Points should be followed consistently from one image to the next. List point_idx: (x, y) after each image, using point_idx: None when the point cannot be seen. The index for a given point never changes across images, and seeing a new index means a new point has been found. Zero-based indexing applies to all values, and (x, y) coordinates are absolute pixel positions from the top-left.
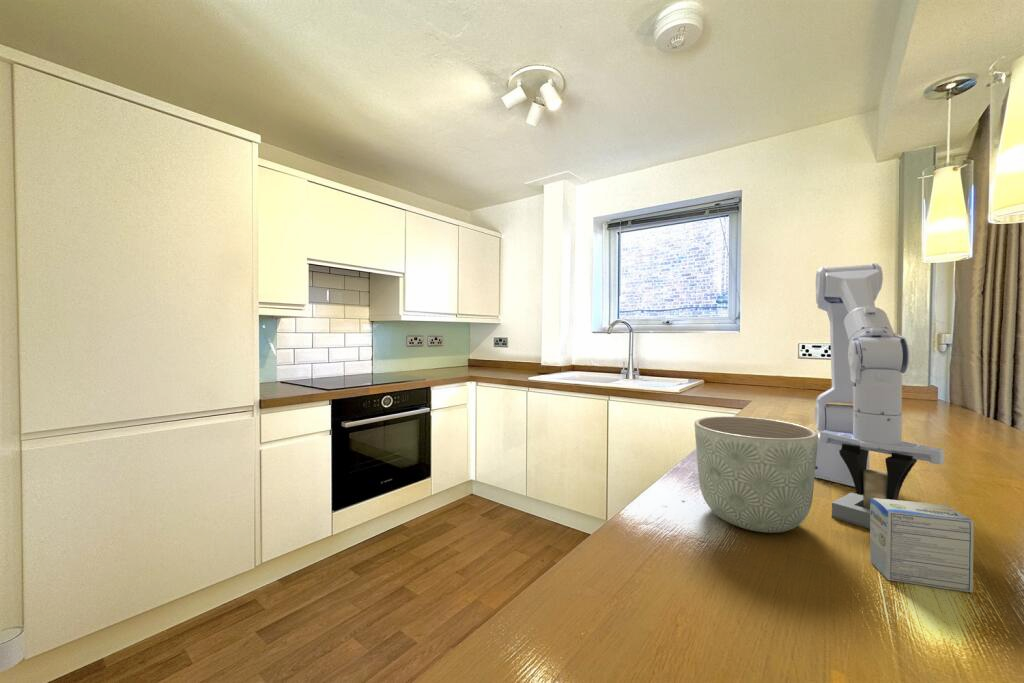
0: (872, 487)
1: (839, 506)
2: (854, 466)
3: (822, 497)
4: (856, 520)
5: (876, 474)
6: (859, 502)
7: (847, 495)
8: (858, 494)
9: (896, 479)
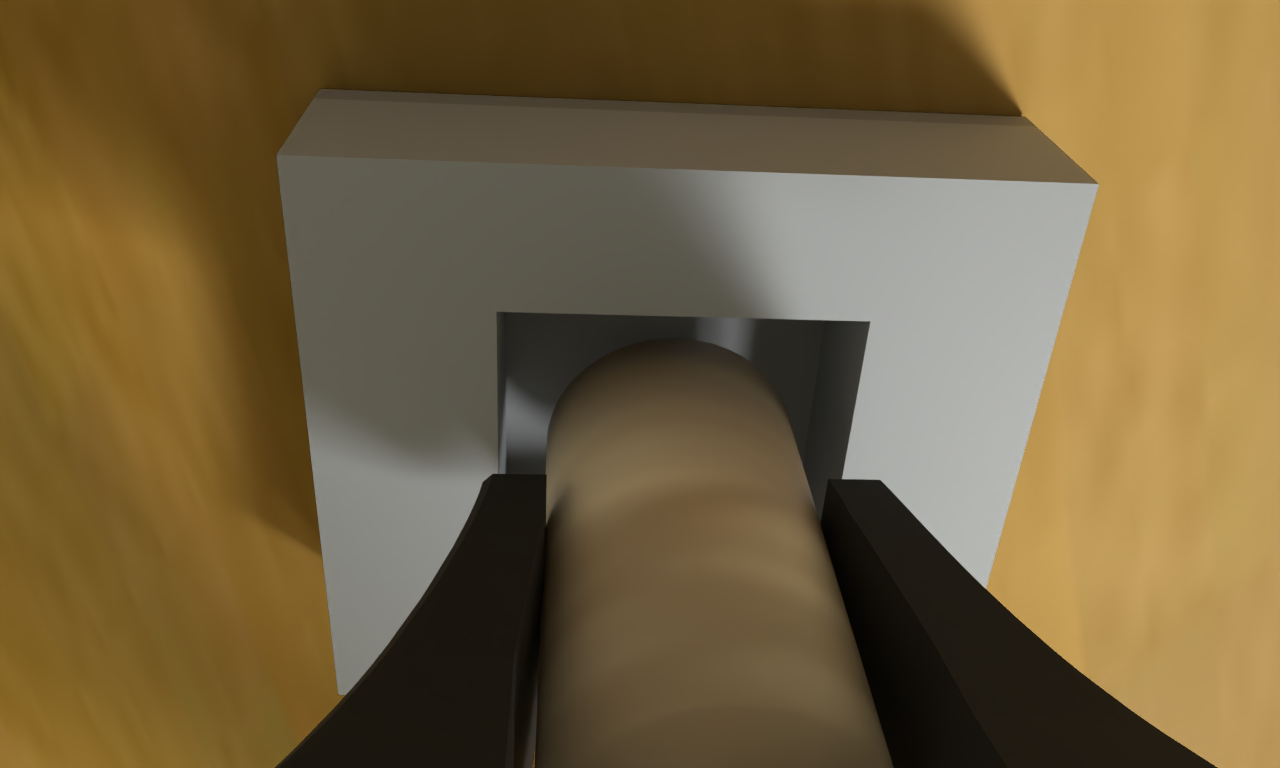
0: (717, 542)
1: (1001, 169)
2: (1056, 751)
3: (1156, 607)
4: (791, 124)
5: (699, 755)
6: None
7: None
8: None
9: (378, 701)
